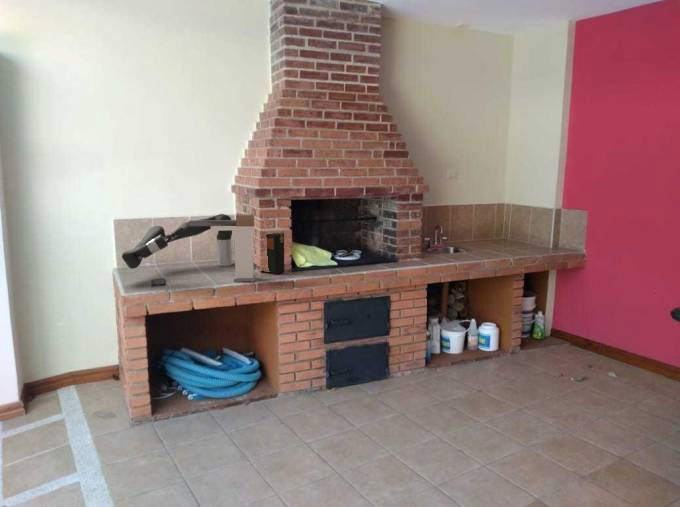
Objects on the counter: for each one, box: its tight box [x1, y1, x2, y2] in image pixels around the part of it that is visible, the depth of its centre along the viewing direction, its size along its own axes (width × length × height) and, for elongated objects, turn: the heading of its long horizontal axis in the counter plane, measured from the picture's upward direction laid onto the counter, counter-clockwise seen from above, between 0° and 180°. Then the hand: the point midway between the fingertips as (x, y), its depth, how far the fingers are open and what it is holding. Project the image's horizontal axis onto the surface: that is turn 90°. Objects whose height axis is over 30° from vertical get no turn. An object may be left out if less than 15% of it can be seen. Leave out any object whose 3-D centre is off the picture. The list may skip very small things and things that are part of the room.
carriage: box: [188, 213, 255, 227], centre depth 308 cm, size 7×36×6 cm, turn 98°
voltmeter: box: [266, 232, 285, 275], centre depth 334 cm, size 16×9×25 cm, turn 59°
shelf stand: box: [210, 225, 256, 283], centre depth 312 cm, size 10×24×32 cm, turn 98°
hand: (182, 229), depth 306 cm, fingers open, 8 cm apart
